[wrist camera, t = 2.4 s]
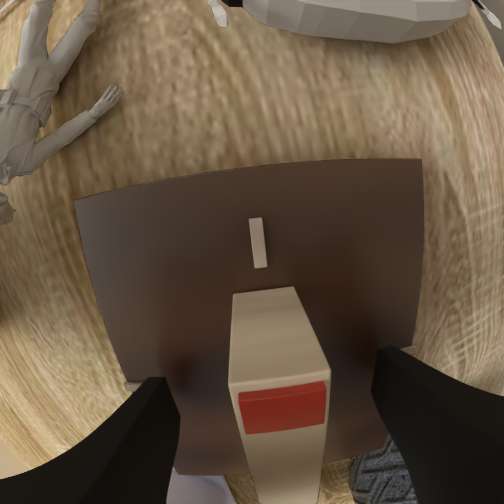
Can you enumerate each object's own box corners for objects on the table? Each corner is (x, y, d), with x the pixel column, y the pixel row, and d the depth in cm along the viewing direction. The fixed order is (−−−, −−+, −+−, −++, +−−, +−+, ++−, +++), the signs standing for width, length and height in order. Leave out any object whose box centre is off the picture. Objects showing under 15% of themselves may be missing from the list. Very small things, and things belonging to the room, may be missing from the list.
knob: (300, 433, 10) (317, 514, 6) (257, 438, 10) (264, 522, 6) (294, 285, 8) (336, 378, 4) (232, 293, 8) (226, 394, 4)
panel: (368, 412, 14) (386, 449, 11) (183, 436, 14) (176, 477, 11) (383, 160, 10) (427, 158, 7) (109, 193, 10) (67, 200, 7)
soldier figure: (174, -6, 9) (94, 237, 8) (126, 39, 12) (65, 238, 11) (50, -58, 3) (-109, 203, 2) (23, 3, 6) (-73, 215, 5)
